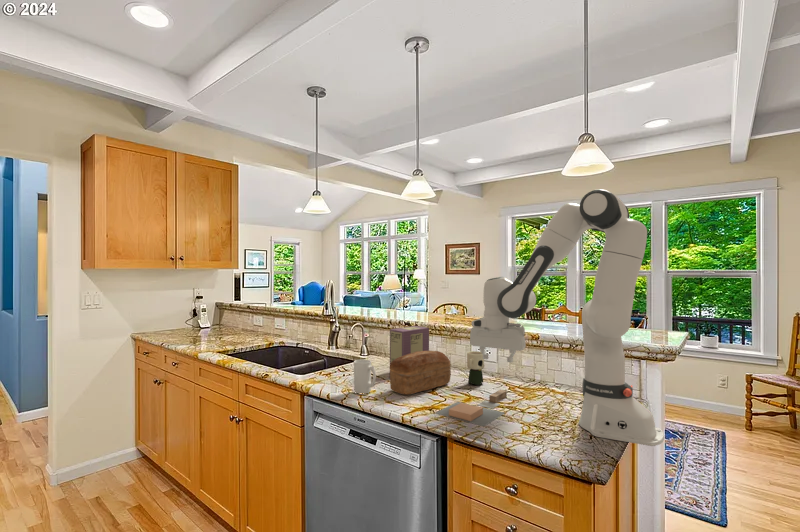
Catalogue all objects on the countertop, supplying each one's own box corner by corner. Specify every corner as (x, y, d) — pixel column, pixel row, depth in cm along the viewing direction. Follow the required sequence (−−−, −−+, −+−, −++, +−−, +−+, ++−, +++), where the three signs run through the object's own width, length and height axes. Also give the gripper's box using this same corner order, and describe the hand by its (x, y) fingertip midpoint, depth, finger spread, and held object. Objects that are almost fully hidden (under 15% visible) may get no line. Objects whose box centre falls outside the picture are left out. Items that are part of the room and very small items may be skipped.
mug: (350, 392, 160) (350, 361, 160) (361, 388, 165) (361, 358, 166) (369, 397, 154) (369, 365, 154) (381, 393, 159) (381, 362, 159)
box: (403, 376, 184) (403, 331, 184) (389, 372, 191) (389, 329, 191) (428, 370, 195) (429, 327, 195) (415, 366, 202) (415, 325, 202)
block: (482, 408, 135) (470, 414, 129) (482, 414, 135) (470, 421, 129) (461, 402, 140) (448, 409, 134) (461, 409, 140) (448, 415, 134)
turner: (496, 396, 156) (496, 388, 156) (511, 399, 152) (511, 391, 152) (476, 407, 144) (476, 398, 144) (492, 410, 140) (492, 402, 140)
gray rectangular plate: (505, 414, 137) (505, 412, 137) (483, 428, 125) (483, 426, 125) (458, 403, 148) (458, 401, 148) (434, 414, 136) (434, 413, 136)
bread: (384, 391, 162) (384, 355, 162) (433, 378, 181) (434, 346, 181) (405, 399, 153) (405, 360, 153) (455, 384, 172) (455, 350, 172)
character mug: (478, 388, 166) (478, 356, 166) (462, 385, 170) (462, 353, 170) (489, 382, 175) (489, 351, 175) (473, 379, 179) (473, 349, 179)
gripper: (527, 322, 145) (529, 362, 145) (475, 319, 158) (476, 355, 158) (520, 324, 140) (521, 365, 140) (467, 321, 153) (468, 358, 153)
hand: (497, 360), depth 149 cm, fingers open, 8 cm apart
